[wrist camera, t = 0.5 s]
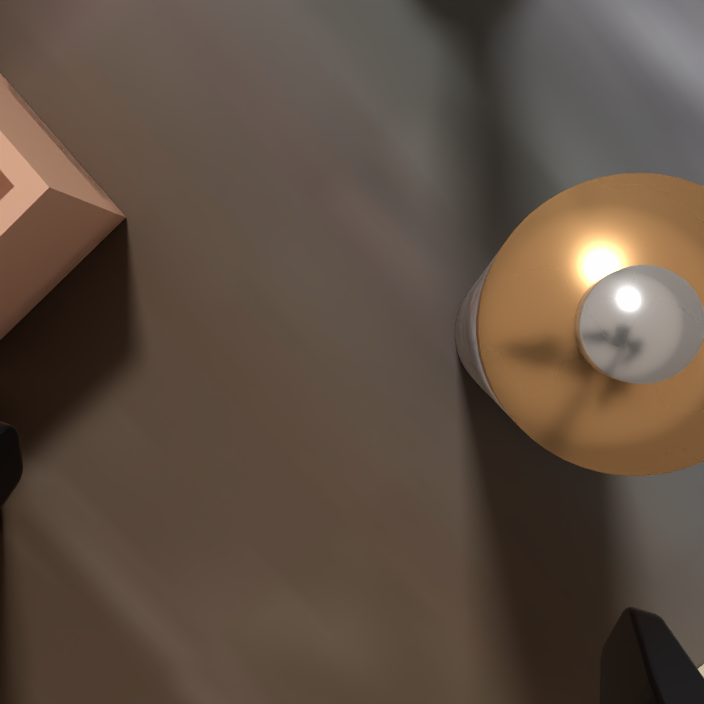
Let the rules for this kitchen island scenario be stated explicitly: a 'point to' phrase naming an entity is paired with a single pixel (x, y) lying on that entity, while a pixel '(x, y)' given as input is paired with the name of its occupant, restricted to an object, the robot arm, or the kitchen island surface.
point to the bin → (42, 210)
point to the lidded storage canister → (598, 325)
